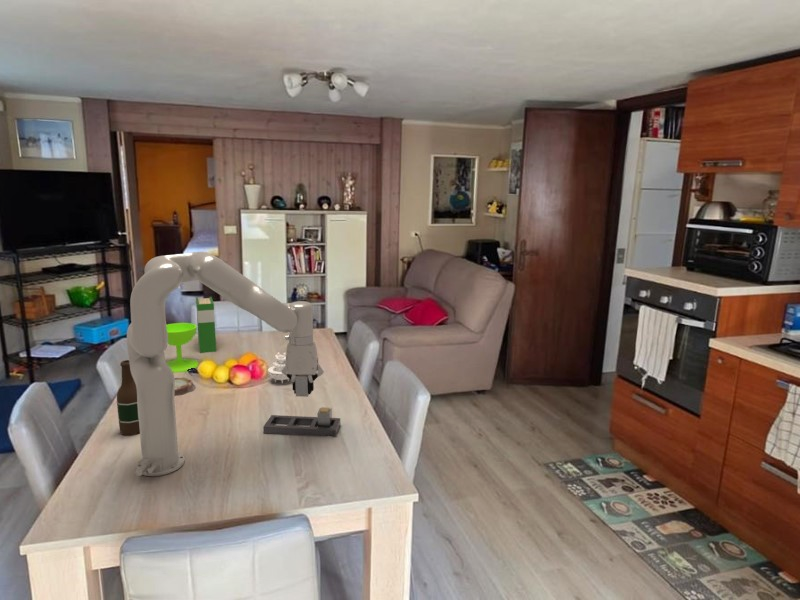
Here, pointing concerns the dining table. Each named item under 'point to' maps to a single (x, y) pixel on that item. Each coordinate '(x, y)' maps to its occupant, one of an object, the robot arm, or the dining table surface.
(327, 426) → the grey tan rectangular block
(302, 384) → the brushed metal block
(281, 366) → the mechanical part
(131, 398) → the beer bottle
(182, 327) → the green goblet
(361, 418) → the dining table surface
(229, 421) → the dining table surface
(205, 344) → the hardback book
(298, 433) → the rail
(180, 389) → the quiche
